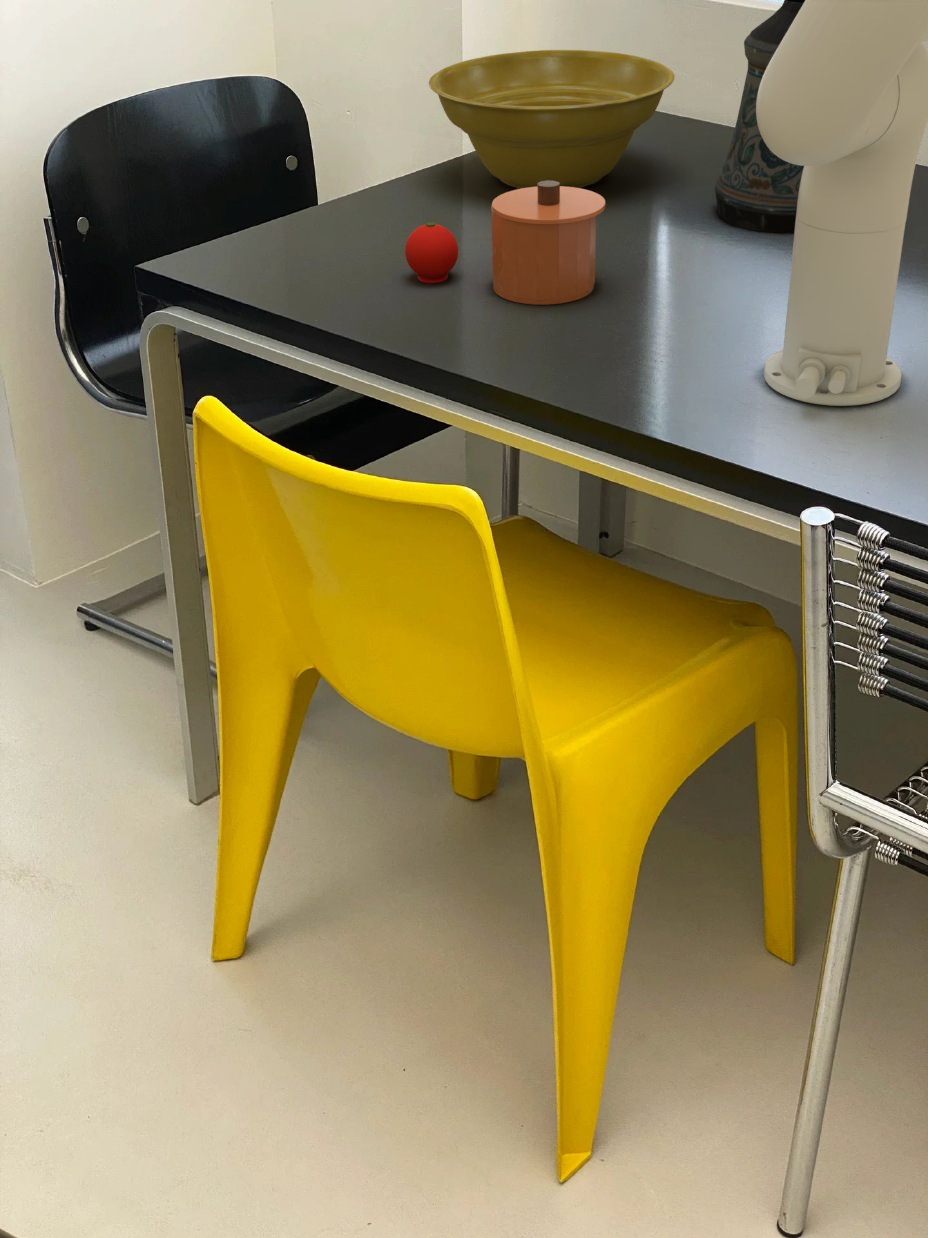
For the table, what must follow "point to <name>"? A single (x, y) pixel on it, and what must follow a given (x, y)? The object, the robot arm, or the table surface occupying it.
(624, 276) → the table surface
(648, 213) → the table surface
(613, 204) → the table surface
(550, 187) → the pot lid
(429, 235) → the tomato
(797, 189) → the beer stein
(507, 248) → the pot
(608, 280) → the table surface
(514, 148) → the planter bowl
